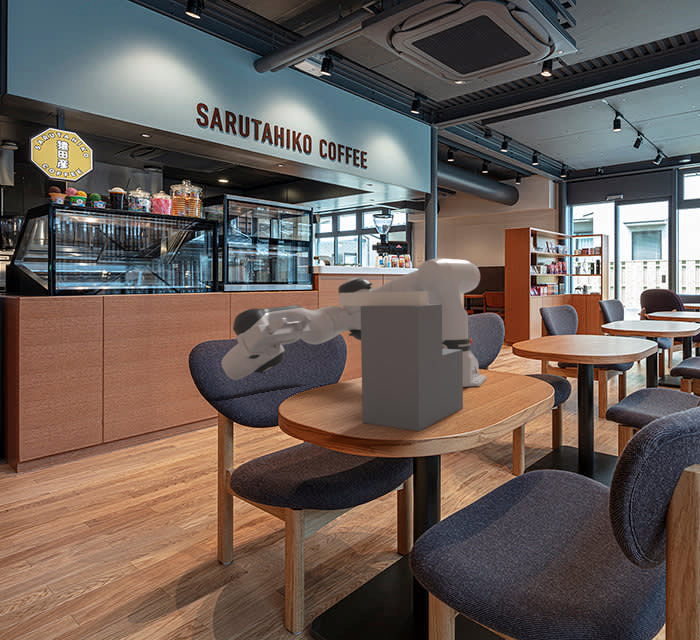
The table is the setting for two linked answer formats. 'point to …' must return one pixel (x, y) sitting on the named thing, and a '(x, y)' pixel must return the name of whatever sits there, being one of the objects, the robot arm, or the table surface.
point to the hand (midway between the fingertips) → (297, 319)
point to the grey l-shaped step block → (408, 367)
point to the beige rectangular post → (384, 299)
